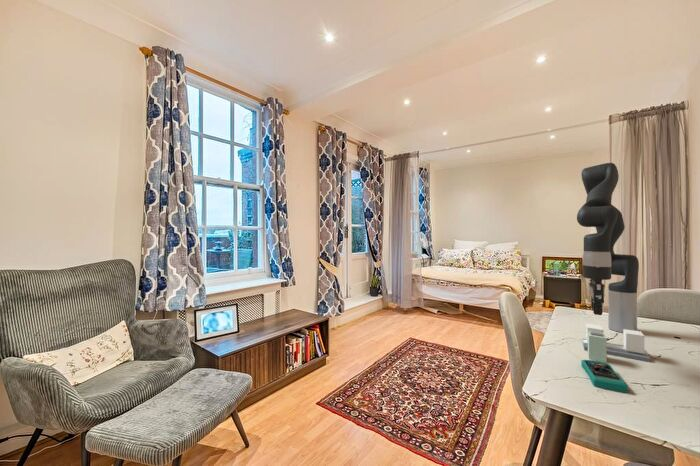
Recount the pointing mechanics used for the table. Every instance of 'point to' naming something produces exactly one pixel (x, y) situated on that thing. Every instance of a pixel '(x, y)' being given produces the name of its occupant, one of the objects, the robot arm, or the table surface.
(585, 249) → the robot arm
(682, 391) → the table surface
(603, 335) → the block
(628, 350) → the rail panel
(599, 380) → the digital multimeter
